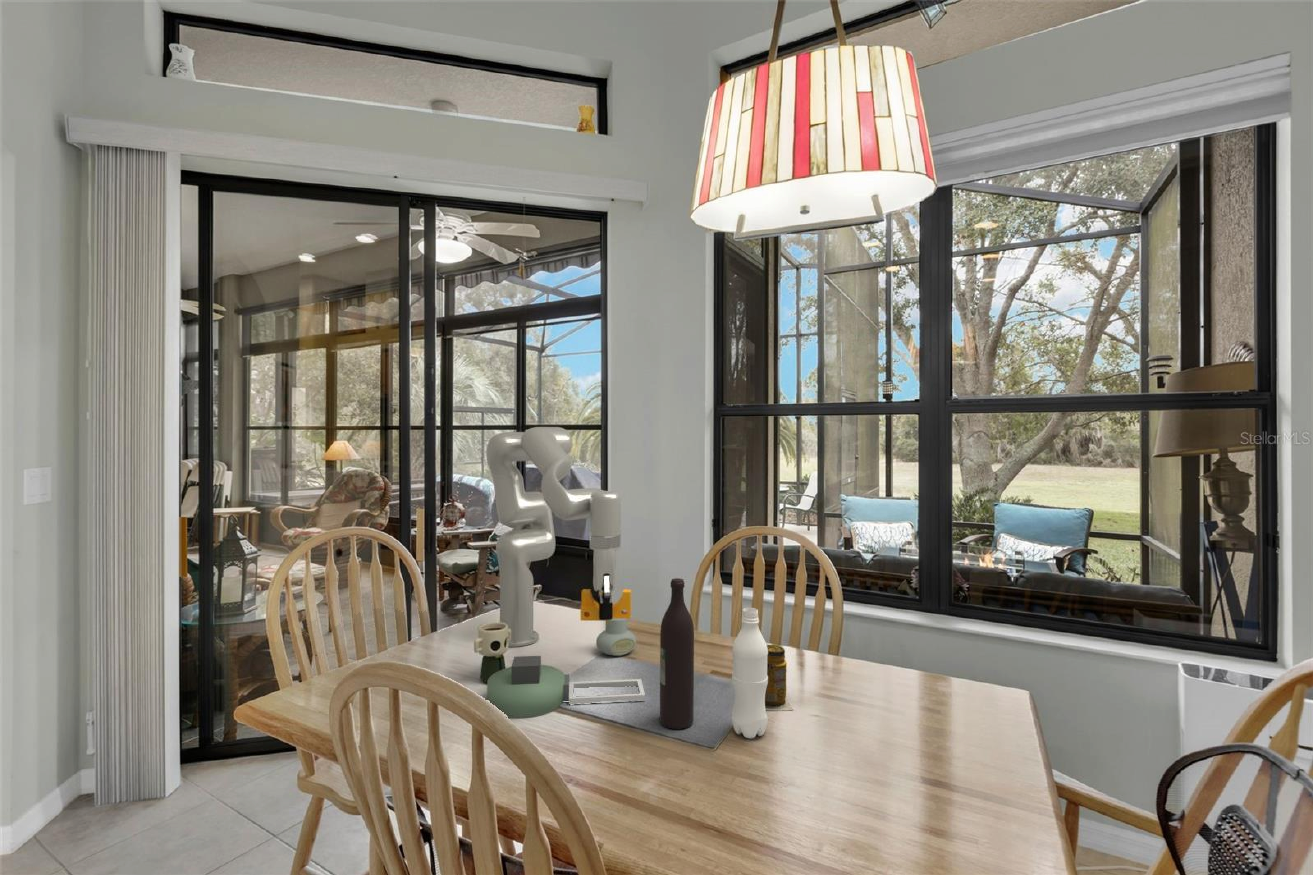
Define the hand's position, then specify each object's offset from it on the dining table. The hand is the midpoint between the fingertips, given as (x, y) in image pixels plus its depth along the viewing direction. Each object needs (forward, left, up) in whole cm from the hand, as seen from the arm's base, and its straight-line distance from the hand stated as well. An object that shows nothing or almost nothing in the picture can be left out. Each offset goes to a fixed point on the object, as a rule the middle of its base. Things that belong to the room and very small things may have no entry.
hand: (605, 615), depth 153 cm
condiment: (+18, +37, -16) cm, 44 cm away
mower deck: (+11, -9, -16) cm, 21 cm away
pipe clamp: (0, 0, -1) cm, 1 cm away
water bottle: (+31, +28, -16) cm, 44 cm away
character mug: (-2, -27, -16) cm, 31 cm away
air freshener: (-17, +4, -16) cm, 24 cm away
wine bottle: (+25, +14, -16) cm, 32 cm away
